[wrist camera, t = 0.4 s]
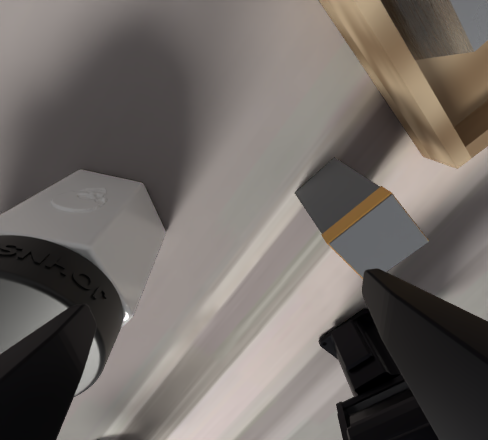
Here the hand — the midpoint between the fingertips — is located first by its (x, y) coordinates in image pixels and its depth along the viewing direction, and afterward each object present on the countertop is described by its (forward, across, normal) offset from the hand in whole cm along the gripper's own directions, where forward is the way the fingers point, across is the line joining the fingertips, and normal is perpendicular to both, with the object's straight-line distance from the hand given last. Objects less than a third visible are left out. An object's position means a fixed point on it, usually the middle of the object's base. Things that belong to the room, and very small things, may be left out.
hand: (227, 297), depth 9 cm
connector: (+14, -8, +2) cm, 16 cm away
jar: (+14, +10, +2) cm, 17 cm away
